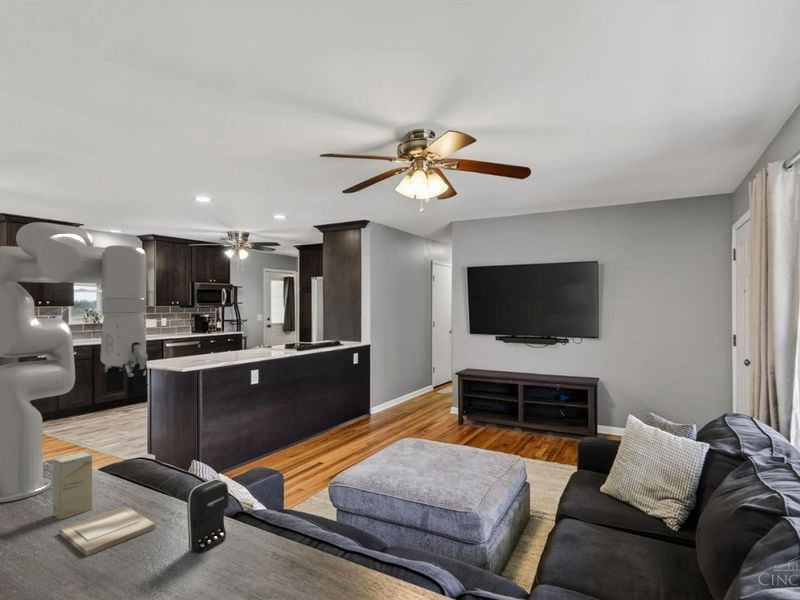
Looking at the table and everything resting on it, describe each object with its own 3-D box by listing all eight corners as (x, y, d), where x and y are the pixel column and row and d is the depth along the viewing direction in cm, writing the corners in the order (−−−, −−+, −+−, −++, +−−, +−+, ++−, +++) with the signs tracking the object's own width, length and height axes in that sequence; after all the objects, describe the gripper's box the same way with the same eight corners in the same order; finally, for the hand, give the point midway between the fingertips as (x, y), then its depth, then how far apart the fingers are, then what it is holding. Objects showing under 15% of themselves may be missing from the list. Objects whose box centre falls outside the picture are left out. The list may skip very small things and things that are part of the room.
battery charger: (200, 557, 79) (199, 492, 79) (186, 551, 81) (185, 488, 81) (232, 538, 85) (231, 479, 85) (219, 534, 87) (218, 475, 87)
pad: (59, 533, 88) (59, 527, 88) (125, 510, 98) (125, 504, 98) (86, 556, 80) (86, 549, 80) (155, 528, 90) (155, 522, 90)
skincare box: (59, 520, 94) (59, 462, 94) (51, 515, 96) (51, 459, 96) (93, 509, 99) (93, 454, 99) (85, 504, 102) (84, 450, 102)
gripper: (86, 308, 91) (86, 391, 91) (122, 308, 81) (122, 403, 81) (126, 307, 97) (126, 386, 97) (164, 308, 87) (165, 396, 87)
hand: (124, 393), depth 89 cm, fingers open, 9 cm apart
